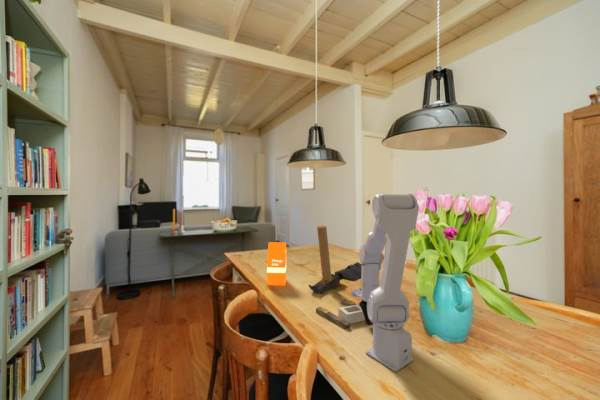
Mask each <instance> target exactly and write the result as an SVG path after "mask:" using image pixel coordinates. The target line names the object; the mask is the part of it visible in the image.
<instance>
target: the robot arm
mask: <svg viewBox="0 0 600 400" xmlns="http://www.w3.org/2000/svg"><path fill="white" fill-rule="evenodd" d="M371 206H372V207H371V208H372V209H371V210H372V212H373V213H372V214H373V215H374V219H375V222H374V225H373V230H372V231H370V232H369V233H368V235H367V238H366V240H365V242H364V244H363V245H361V246H360V247H359V253H358V255H359V257H358V258H359V263H360V264H362V274H361V279H360V280H361V281H360V283H361V285H360V286H361V287H360V288H361V291H360V290H358V289H356V288H355V289H352V290H351V291H350V293H351V297H354V298H355V297H356V298H358V299H360V300H361V301H359V304H358V305H359V306H360V307H361V309H362V311H363V314H364V317H365V320H364V321H365V324H366V325H367V326H369V327H370V326H373V327H372V347H371V348H369V349H367V350H365V353H366V354H367V355H369V356H370V357H372V358H373V359H375V360H376V361H377V362H379V363H381V364H382V365H384V366H386V367H388V368H389V369H391V370H392V371H393V372H398V371H399V370H401V369H403V368H404V367H405V366H406V365H409V364H410V363H412V362H413V361H414V358H413V357H412V355H413V354H412V349H413V348H412V347H413V346H412V345H413V344H412V343H413V341H412V339H413V336H412V334H411V333H410V331H408V330H406V329H405V328H404V326H405V323H408V320H409V318H410V309H409V308H410V307H409V306H410V301H409V299H408V297H407V295H406V293H404V292H403V290H401V287H402V281H403V276H404V272H405V265H406V258H407V254H408V247H409V242H410V237H411V232H412V231H413V230H415V229H416V226H417V225H416V224H417V221H418V215H419V211H420V209H419V208H420V207H419V203H418V199H417V198H416V196H415V195H414V194H412V193H408V194H397V193H395V194H394V193H393V194H389V193H388V194H386V193H385V194H384V193H382V194H381V193H376V194H375V195H374V197H373V199H372V205H371ZM384 249H385V251H384ZM383 251H384V254H383ZM383 255H384V256H383ZM383 257H384V258H383ZM380 271H382V272H380ZM380 273H381V277H380ZM380 278H381V279H380Z"/></svg>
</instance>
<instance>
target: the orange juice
mask: <svg viewBox="0 0 600 400" xmlns="http://www.w3.org/2000/svg"><path fill="white" fill-rule="evenodd" d="M286 283H287V242H286V241H285V242H283V241H281V242H279V241H278V242H275V241H270V242H269V241H268V247H267V254H266V285H267V286H286Z"/></svg>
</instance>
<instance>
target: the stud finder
mask: <svg viewBox="0 0 600 400" xmlns="http://www.w3.org/2000/svg"><path fill="white" fill-rule="evenodd" d="M337 312H338V315H337V316H338V317H340V318H342V319H343V320H345V321H347V322H349V323H350V324H353V323H358V322H363V321H365V317H364V314H363V311H362V309H361V307H360V305H359V304H357V305H352V306H342V307H338V311H337Z"/></svg>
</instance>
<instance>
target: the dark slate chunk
mask: <svg viewBox="0 0 600 400" xmlns="http://www.w3.org/2000/svg"><path fill="white" fill-rule="evenodd" d="M336 272H340V273H341V274H342V275H343V279H345V280H348V281H351V282H356V281H358V280H361V274H362V264H361V262H360V261H359V262H358V261H357V262H355V263H353V264H352V263H351V264H349V265H347V267H345V268H343V269H339V270H337V271H334V274H335V273H336Z"/></svg>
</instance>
